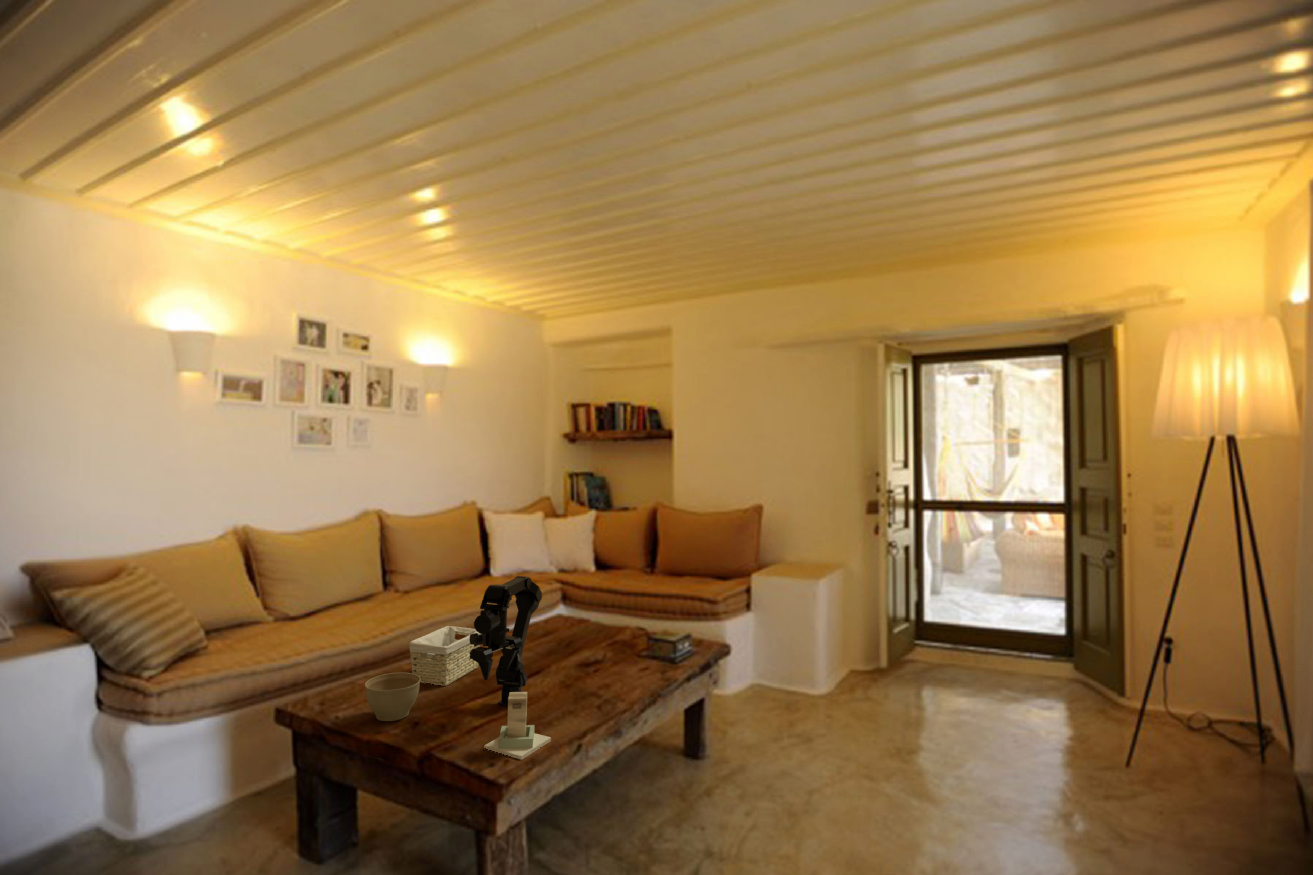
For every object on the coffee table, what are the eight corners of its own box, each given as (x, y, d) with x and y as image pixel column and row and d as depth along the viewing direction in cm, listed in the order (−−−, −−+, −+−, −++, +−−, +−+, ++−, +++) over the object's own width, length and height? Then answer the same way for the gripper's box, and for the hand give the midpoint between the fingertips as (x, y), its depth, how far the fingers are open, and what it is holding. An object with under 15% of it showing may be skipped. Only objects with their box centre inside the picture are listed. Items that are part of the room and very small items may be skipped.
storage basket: (445, 688, 235) (446, 646, 235) (405, 682, 240) (407, 641, 240) (482, 667, 258) (483, 629, 258) (445, 662, 263) (447, 624, 263)
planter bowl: (402, 701, 222) (403, 668, 222) (429, 715, 212) (430, 680, 212) (354, 716, 210) (355, 680, 210) (380, 731, 199) (382, 694, 200)
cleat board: (513, 730, 202) (513, 719, 202) (550, 740, 196) (551, 728, 196) (482, 748, 190) (483, 736, 190) (521, 759, 184) (521, 746, 184)
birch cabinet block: (508, 737, 195) (509, 692, 195) (525, 736, 196) (527, 691, 196) (506, 746, 189) (508, 699, 190) (524, 745, 190) (526, 699, 190)
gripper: (496, 615, 224) (495, 663, 224) (456, 628, 207) (454, 679, 207) (523, 620, 219) (522, 668, 219) (485, 633, 202) (483, 686, 202)
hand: (495, 675), depth 212 cm, fingers open, 9 cm apart
